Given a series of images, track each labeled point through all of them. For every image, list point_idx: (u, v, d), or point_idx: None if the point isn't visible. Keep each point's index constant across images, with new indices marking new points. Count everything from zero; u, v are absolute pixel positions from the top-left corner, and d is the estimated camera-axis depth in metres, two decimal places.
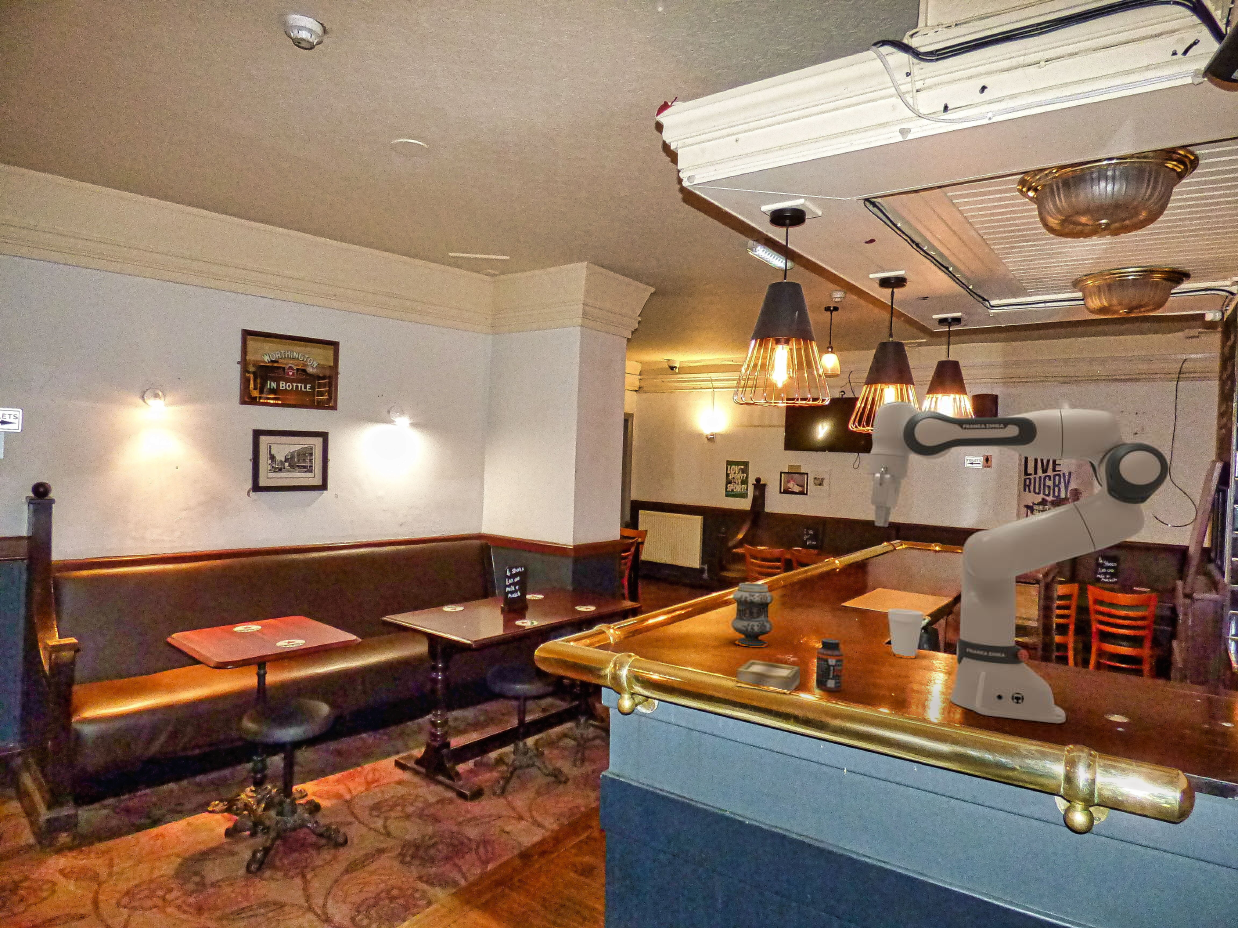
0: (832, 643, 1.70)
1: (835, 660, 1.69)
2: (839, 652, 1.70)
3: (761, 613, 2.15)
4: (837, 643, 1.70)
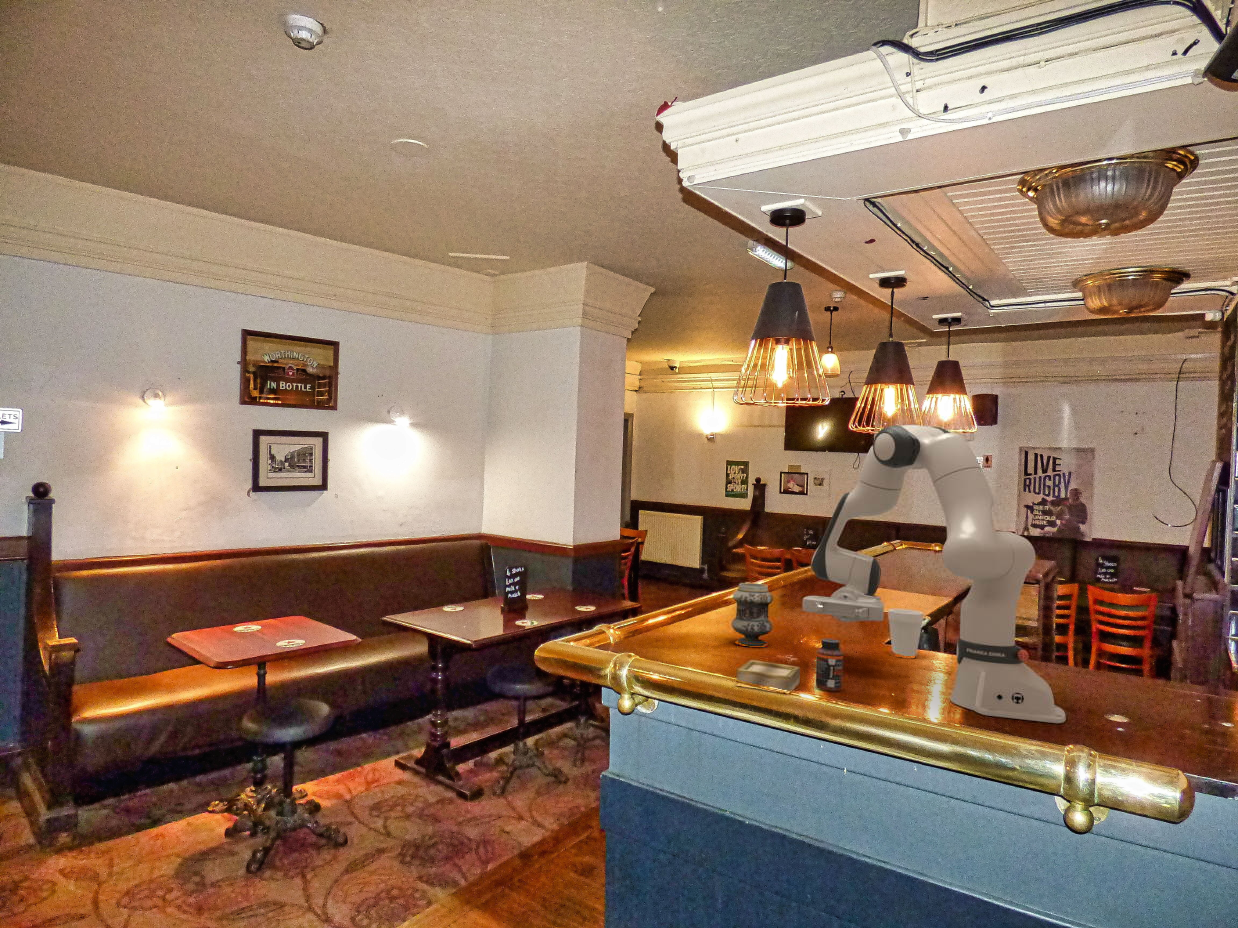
0: (832, 643, 1.70)
1: (835, 660, 1.69)
2: (839, 652, 1.70)
3: (761, 613, 2.15)
4: (837, 643, 1.70)
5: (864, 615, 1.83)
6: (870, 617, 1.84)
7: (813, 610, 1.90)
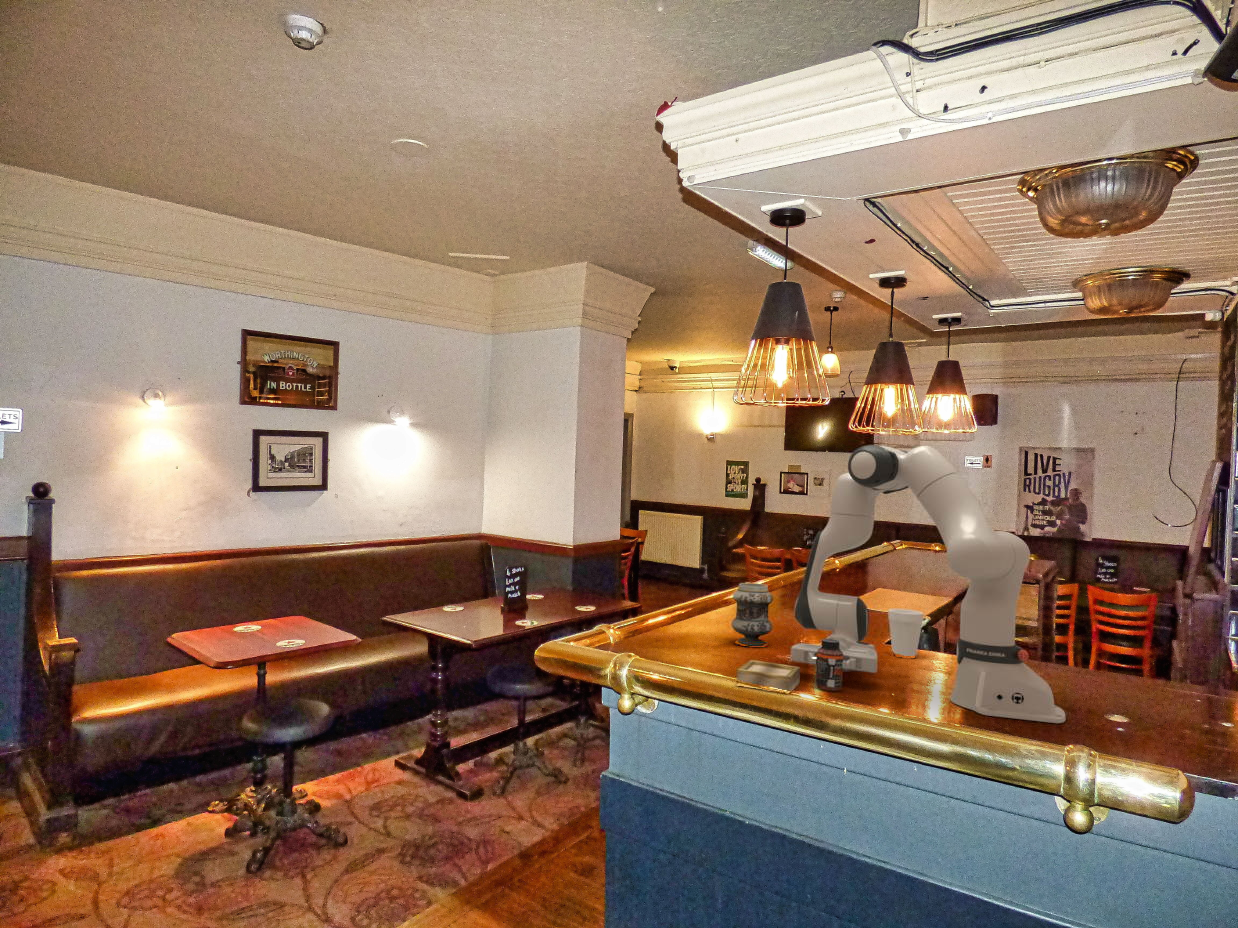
0: (832, 643, 1.70)
1: (835, 660, 1.69)
2: (839, 652, 1.70)
3: (761, 613, 2.15)
4: (837, 643, 1.70)
5: (851, 666, 1.71)
6: (863, 669, 1.72)
7: (802, 660, 1.78)
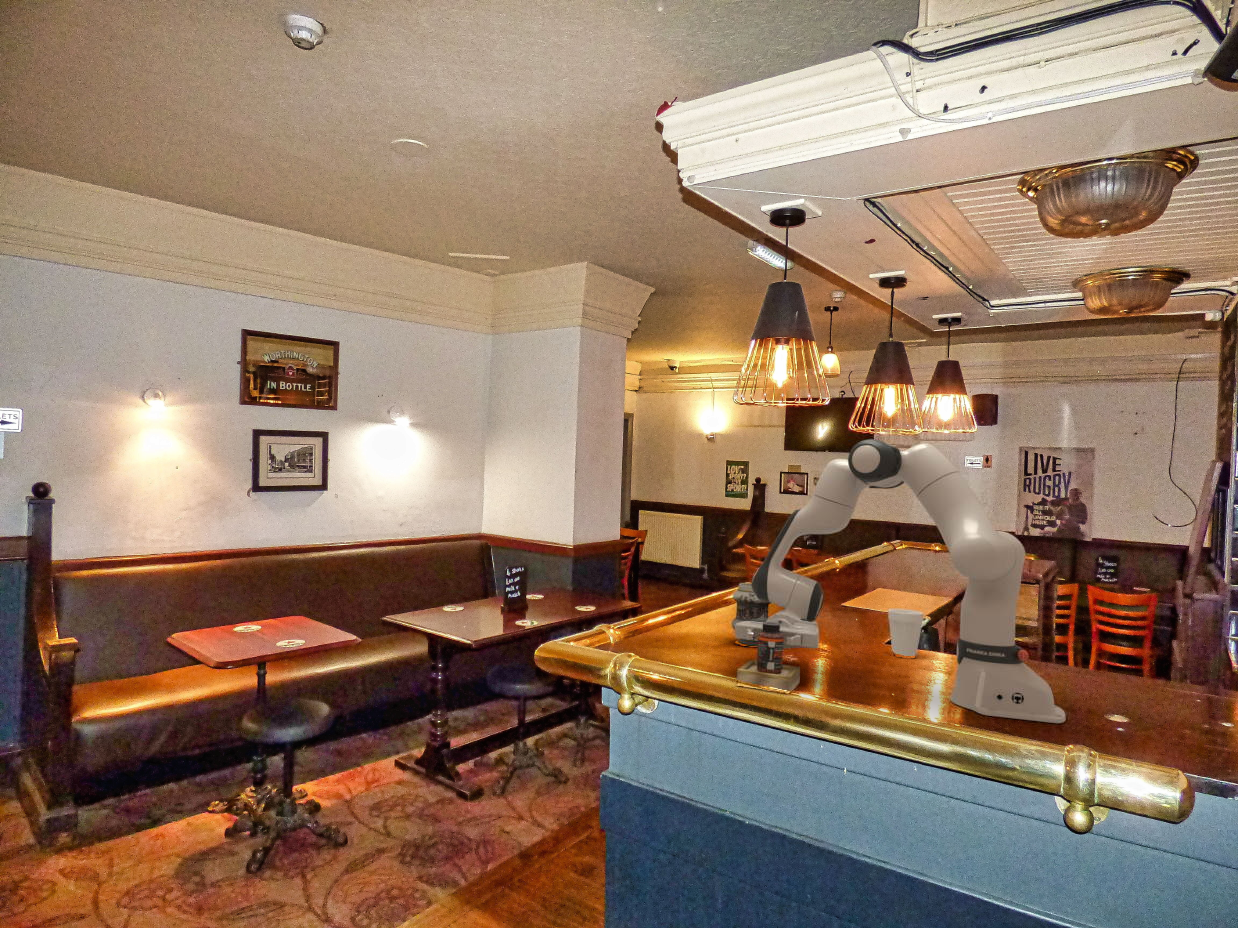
0: (772, 626, 1.71)
1: (775, 643, 1.70)
2: (779, 635, 1.71)
3: (761, 613, 2.15)
4: (777, 626, 1.72)
5: (796, 643, 1.72)
6: (803, 645, 1.73)
7: (745, 637, 1.79)
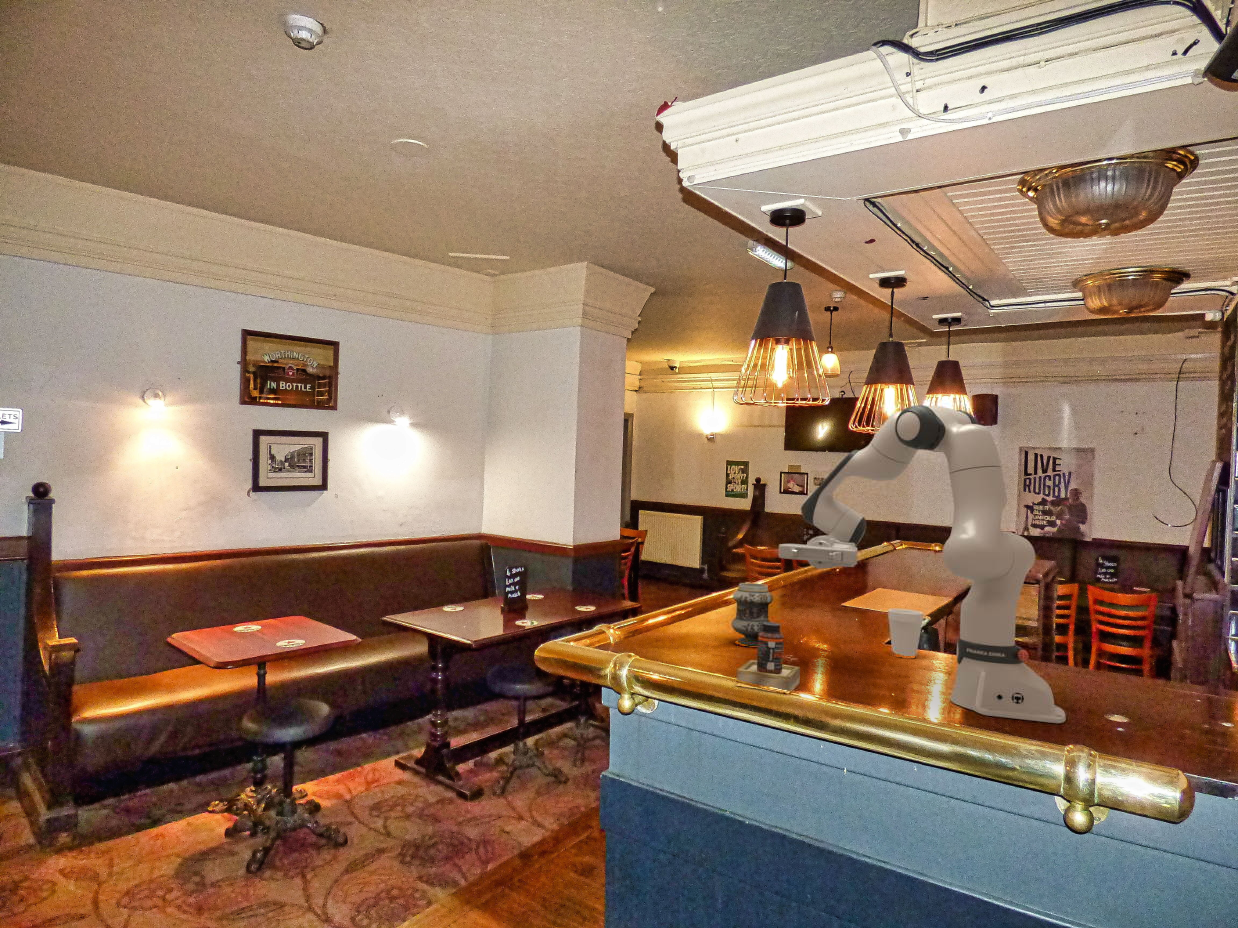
0: (772, 626, 1.71)
1: (775, 643, 1.70)
2: (779, 635, 1.71)
3: (761, 613, 2.15)
4: (777, 626, 1.72)
5: (838, 558, 1.86)
6: (844, 561, 1.88)
7: (789, 556, 1.94)
